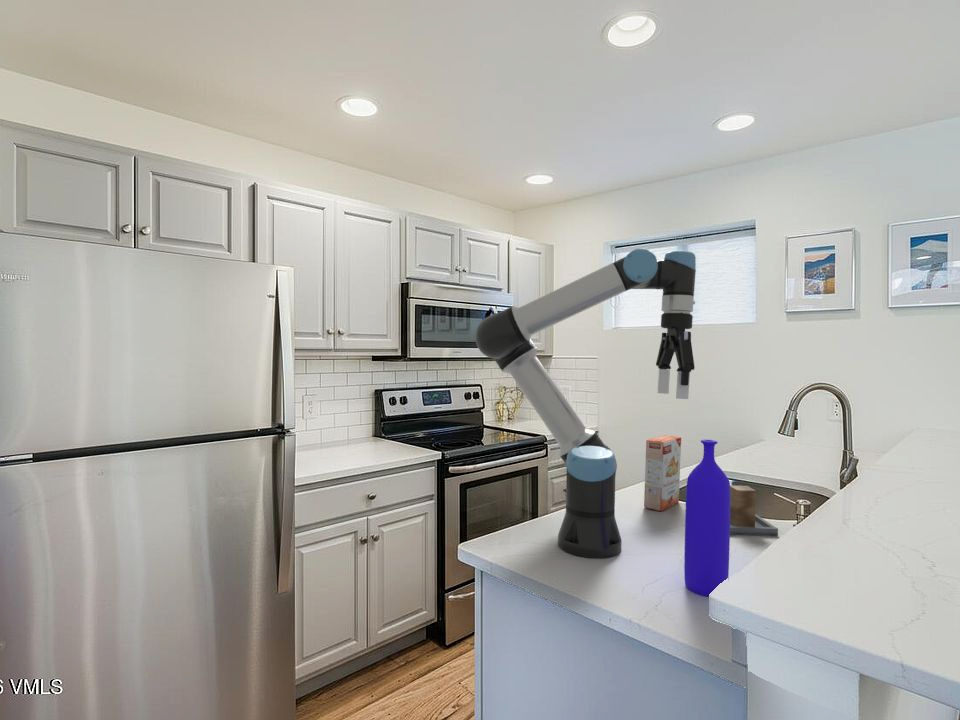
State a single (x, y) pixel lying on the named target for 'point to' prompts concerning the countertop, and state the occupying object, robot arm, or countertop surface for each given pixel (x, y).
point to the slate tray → (755, 528)
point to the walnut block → (742, 506)
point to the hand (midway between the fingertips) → (672, 396)
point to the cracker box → (662, 472)
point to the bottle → (707, 525)
